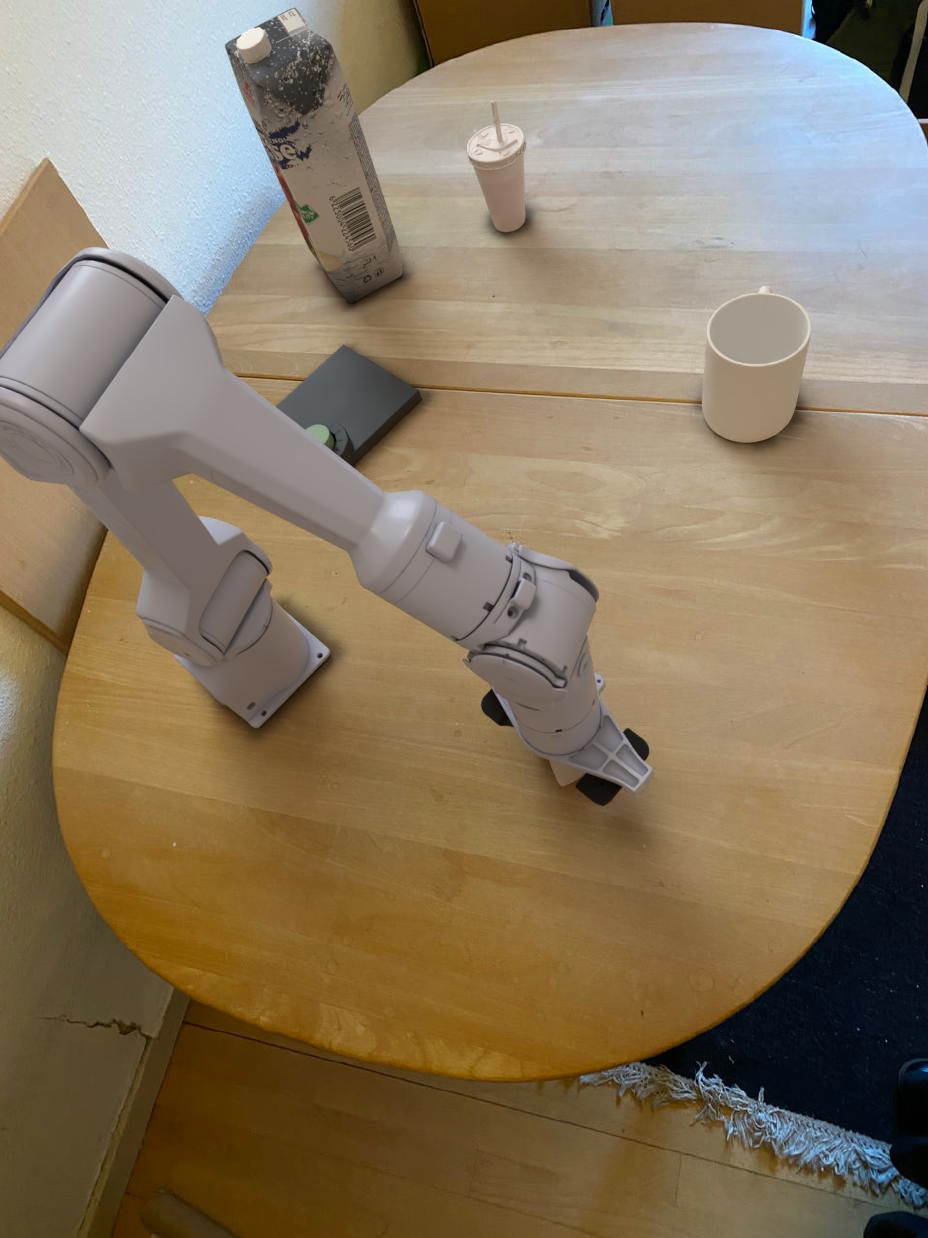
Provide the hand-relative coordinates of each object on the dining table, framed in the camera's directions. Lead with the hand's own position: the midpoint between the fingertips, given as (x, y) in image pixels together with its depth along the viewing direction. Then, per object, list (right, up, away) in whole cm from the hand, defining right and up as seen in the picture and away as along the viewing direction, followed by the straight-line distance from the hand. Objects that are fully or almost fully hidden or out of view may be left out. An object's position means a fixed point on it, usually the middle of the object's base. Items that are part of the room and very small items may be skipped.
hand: (571, 755), depth 65 cm
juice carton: (-20, +51, +33) cm, 64 cm away
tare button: (-23, +28, +18) cm, 40 cm away
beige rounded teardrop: (0, -1, +1) cm, 2 cm away
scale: (-22, +32, +23) cm, 45 cm away
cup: (+19, +32, +14) cm, 39 cm away
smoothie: (-3, +57, +32) cm, 65 cm away
